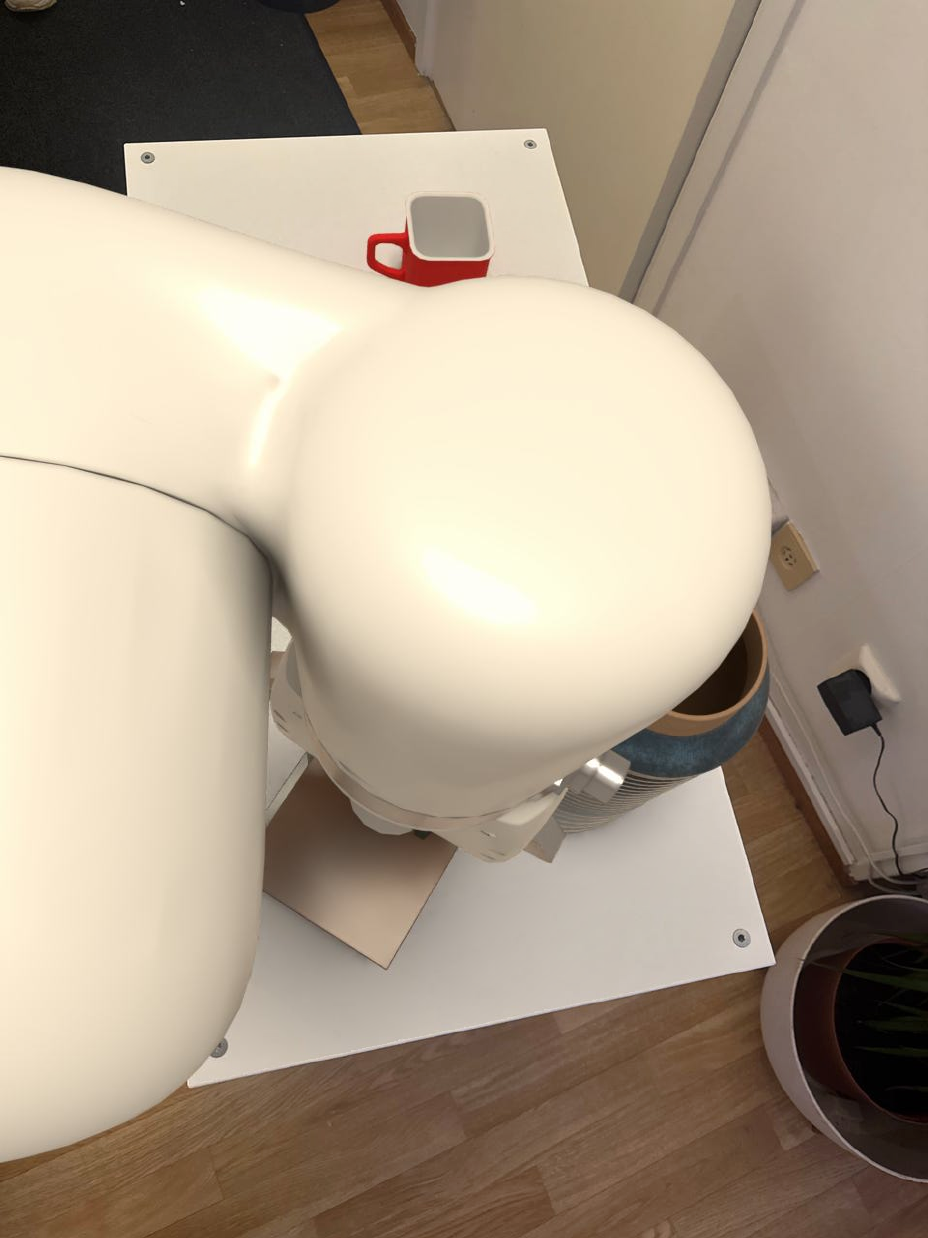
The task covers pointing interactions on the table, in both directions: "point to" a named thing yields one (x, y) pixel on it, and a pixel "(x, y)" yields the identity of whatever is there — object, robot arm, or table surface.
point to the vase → (686, 735)
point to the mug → (440, 239)
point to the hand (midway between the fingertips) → (396, 782)
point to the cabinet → (347, 866)
